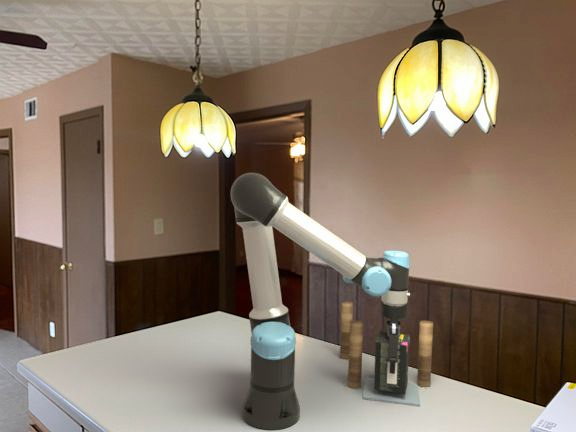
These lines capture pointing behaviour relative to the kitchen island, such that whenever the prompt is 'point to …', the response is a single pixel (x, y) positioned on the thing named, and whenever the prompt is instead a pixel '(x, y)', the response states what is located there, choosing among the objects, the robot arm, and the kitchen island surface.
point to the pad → (391, 394)
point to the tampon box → (382, 364)
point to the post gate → (345, 329)
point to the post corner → (355, 354)
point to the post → (425, 353)
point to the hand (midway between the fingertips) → (391, 374)
